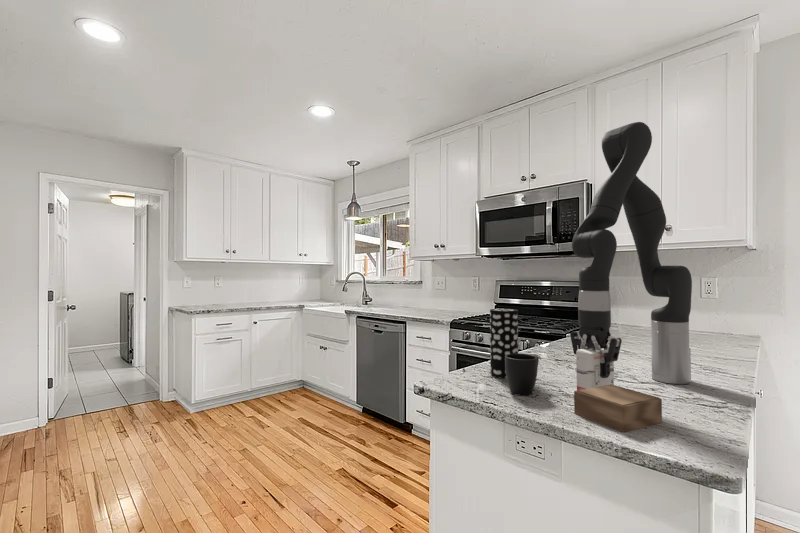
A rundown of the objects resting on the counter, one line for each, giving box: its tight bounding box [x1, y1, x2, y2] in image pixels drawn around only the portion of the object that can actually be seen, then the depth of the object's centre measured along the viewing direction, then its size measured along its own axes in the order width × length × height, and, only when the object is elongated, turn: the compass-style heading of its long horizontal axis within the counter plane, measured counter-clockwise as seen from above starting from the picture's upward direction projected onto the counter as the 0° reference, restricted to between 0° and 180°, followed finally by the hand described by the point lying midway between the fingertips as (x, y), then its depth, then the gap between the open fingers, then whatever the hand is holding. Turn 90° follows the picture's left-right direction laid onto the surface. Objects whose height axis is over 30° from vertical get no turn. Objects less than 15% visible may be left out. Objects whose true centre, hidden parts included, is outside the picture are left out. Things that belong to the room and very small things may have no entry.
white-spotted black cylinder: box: [489, 308, 519, 380], centre depth 127 cm, size 8×8×20 cm
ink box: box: [575, 348, 615, 391], centre depth 105 cm, size 9×5×12 cm, turn 116°
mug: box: [505, 353, 540, 397], centre depth 110 cm, size 8×12×10 cm
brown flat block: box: [573, 384, 663, 433], centre depth 90 cm, size 12×12×5 cm
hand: (594, 374), depth 105 cm, fingers closed on ink box, 5 cm apart
